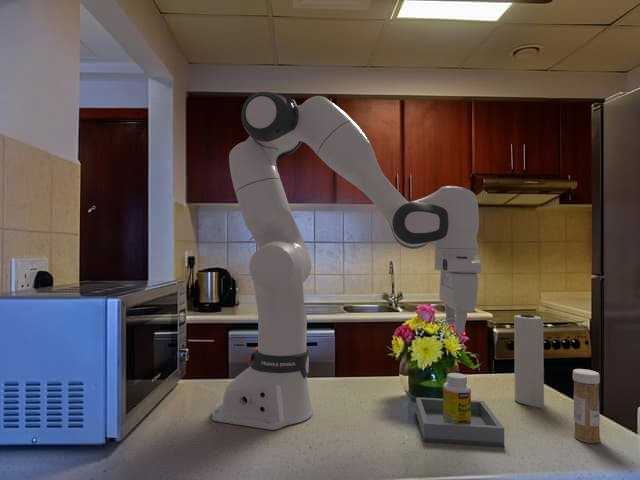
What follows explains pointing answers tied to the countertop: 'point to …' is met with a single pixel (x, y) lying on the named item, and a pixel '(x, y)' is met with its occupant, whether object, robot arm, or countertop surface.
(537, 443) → the countertop surface
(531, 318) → the paper towel roll
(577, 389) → the spice jar
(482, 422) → the tray
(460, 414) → the supplement bottle
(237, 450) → the countertop surface
